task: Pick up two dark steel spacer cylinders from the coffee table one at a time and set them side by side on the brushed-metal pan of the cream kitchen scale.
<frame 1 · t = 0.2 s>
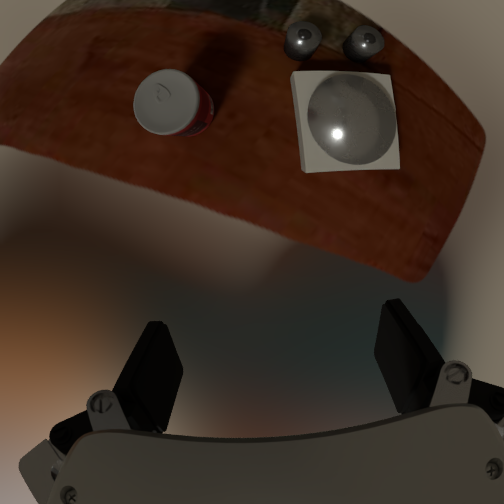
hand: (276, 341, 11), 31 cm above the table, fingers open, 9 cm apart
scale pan: (353, 118, 30), point 5 cm above the table, slide at -0.6 cm
spacer a: (356, 50, 30), on the table
scale: (343, 121, 34), on the table
canned food: (189, 111, 35), on the table
spacer b: (298, 48, 30), on the table
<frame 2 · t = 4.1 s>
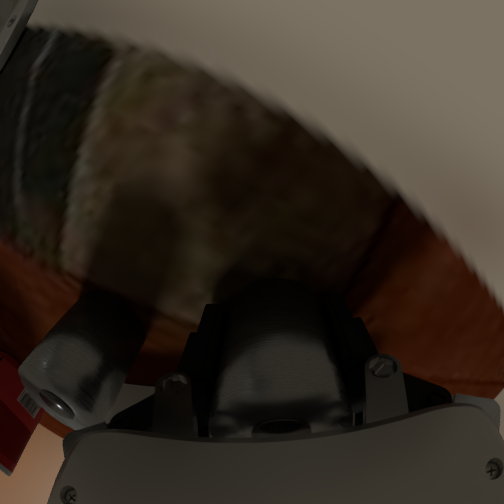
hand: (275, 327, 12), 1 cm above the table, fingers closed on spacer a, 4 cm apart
spacer a: (275, 320, 12), on the table, touching gripper
scale: (233, 440, 17), on the table
canned food: (22, 377, 17), on the table
spacer b: (109, 324, 13), on the table
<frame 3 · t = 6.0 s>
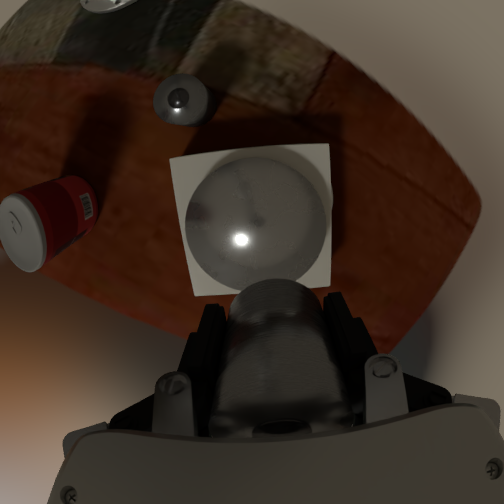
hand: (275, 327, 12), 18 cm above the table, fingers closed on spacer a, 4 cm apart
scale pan: (255, 228, 24), point 5 cm above the table, slide at -0.6 cm
spacer a: (275, 320, 12), point 17 cm above the table, touching gripper
scale: (256, 213, 28), on the table
canned food: (77, 204, 28), on the table
spacer b: (195, 106, 24), on the table
when the fingers open (8 cm above the table, at t = 8.2 s): spacer a drops 2 cm, resting on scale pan.
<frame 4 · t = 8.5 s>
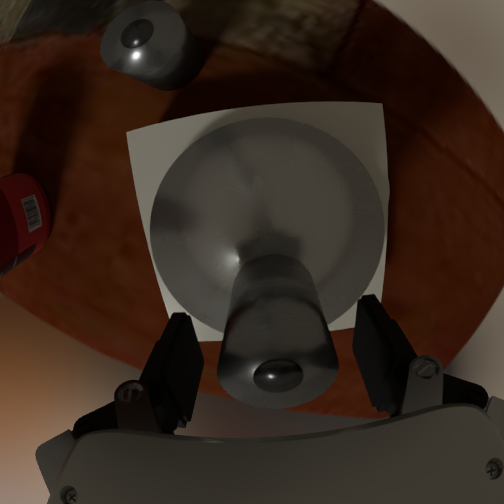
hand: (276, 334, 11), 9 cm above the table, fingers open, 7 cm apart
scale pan: (268, 242, 14), point 5 cm above the table, slide at -0.7 cm, touching spacer a
spacer a: (273, 291, 14), point 5 cm above the table, touching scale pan
scale: (266, 217, 18), on the table
canned food: (29, 210, 19), on the table
spacer b: (172, 62, 14), on the table
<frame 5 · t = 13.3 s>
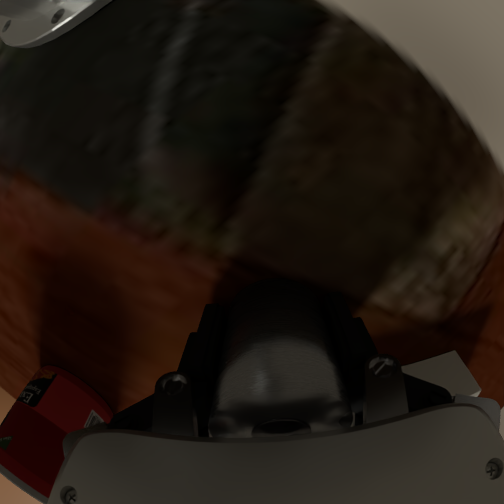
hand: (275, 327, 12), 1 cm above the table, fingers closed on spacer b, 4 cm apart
scale: (349, 430, 16), on the table
canned food: (77, 394, 17), on the table
spacer b: (275, 320, 12), on the table, touching gripper
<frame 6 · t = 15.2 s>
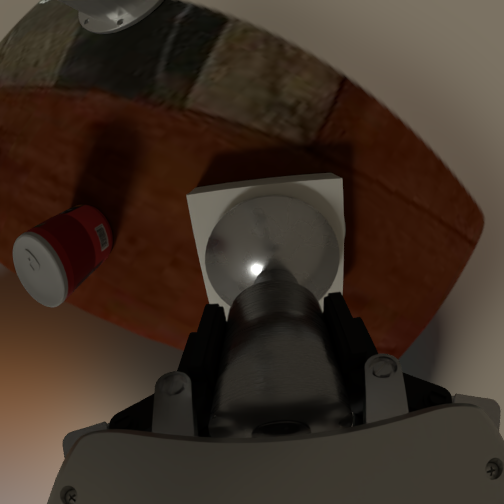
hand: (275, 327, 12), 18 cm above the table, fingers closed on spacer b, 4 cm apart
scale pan: (272, 262, 25), point 5 cm above the table, slide at -0.7 cm, touching spacer a
spacer a: (275, 289, 26), point 5 cm above the table, touching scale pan
scale: (270, 242, 29), on the table
canned food: (90, 232, 30), on the table
spacer b: (275, 321, 12), point 17 cm above the table, touching gripper
when the fingers open (8 cm above the table, at t = 17.2 s): spacer b drops 2 cm, resting on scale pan.
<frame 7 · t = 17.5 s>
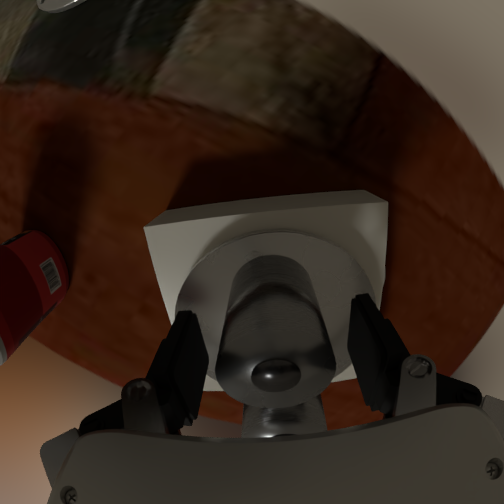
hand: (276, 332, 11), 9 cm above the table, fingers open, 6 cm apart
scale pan: (277, 328, 16), point 5 cm above the table, slide at -0.7 cm, touching spacer a, spacer b
spacer a: (280, 363, 17), point 5 cm above the table, touching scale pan
scale: (274, 288, 21), on the table
canned food: (44, 264, 21), on the table
spacer b: (271, 292, 15), point 5 cm above the table, touching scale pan
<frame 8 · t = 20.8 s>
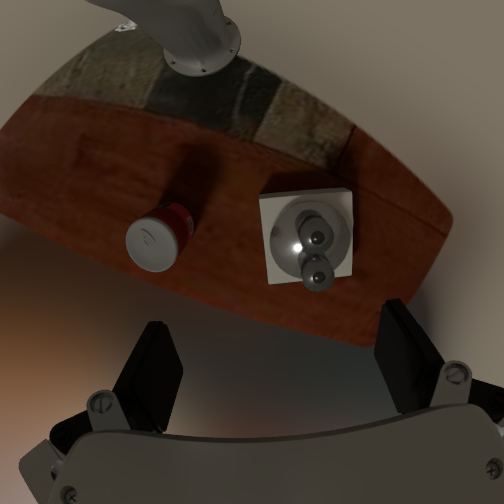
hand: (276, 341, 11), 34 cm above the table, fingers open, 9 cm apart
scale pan: (310, 241, 40), point 5 cm above the table, slide at -0.7 cm, touching spacer a, spacer b
spacer a: (311, 259, 41), point 5 cm above the table, touching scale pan
scale: (305, 231, 45), on the table
canned food: (174, 222, 45), on the table
spacer b: (309, 224, 39), point 5 cm above the table, touching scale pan
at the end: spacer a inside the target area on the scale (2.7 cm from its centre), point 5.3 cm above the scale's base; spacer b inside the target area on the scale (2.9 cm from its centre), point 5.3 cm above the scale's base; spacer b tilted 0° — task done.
